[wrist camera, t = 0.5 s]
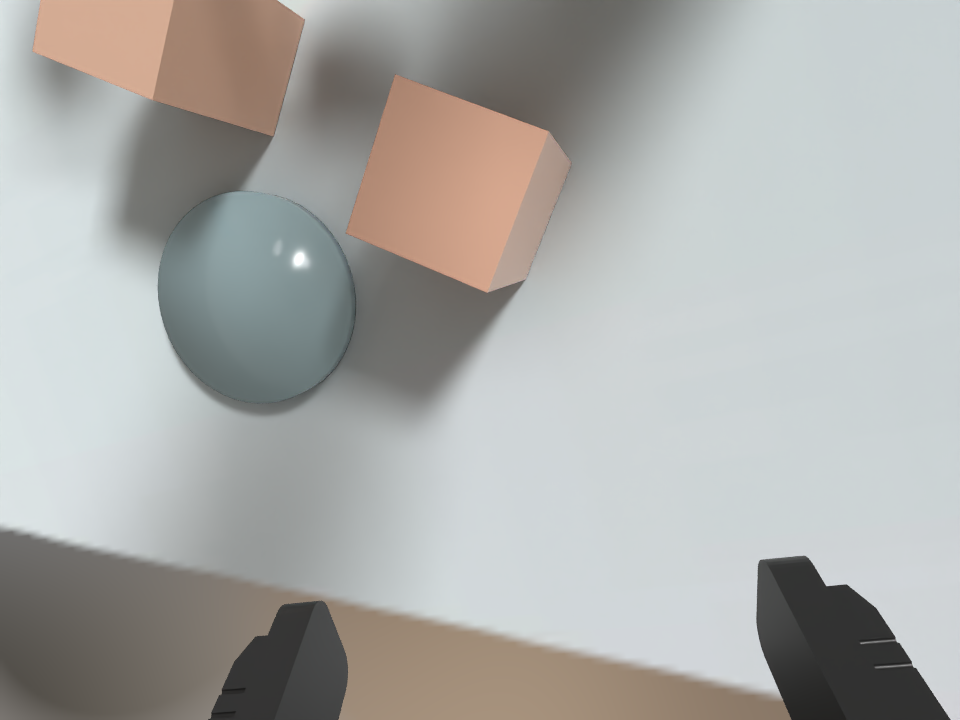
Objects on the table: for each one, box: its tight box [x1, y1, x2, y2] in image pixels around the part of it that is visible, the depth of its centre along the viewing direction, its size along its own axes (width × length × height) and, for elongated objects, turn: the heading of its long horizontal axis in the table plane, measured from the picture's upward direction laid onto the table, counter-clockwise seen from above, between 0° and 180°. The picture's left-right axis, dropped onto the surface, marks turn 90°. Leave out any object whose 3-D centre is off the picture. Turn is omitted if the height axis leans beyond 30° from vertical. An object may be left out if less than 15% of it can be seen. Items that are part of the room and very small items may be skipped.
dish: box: [158, 191, 356, 403], centre depth 35 cm, size 12×12×1 cm
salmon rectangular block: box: [346, 75, 572, 293], centre depth 27 cm, size 6×6×9 cm
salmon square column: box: [32, 0, 305, 137], centre depth 29 cm, size 6×6×9 cm
